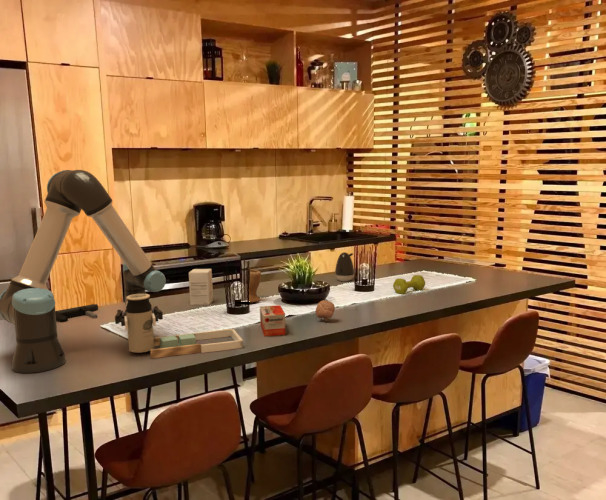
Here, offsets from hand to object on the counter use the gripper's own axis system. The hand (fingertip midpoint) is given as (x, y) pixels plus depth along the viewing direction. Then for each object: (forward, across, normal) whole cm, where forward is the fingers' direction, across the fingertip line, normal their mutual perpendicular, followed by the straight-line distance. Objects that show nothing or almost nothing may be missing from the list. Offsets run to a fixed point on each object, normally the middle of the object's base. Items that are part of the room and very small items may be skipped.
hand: (140, 323), depth 180 cm
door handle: (-66, +22, -12) cm, 70 cm away
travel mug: (-5, 0, -10) cm, 11 cm away
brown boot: (-64, -50, -11) cm, 82 cm away
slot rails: (-4, -10, -11) cm, 16 cm away
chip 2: (-4, -15, -11) cm, 19 cm away
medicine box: (-13, -47, -12) cm, 50 cm away
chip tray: (-4, -25, -11) cm, 28 cm away
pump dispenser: (-89, -109, -12) cm, 142 cm away
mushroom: (-17, -70, -11) cm, 73 cm away
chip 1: (-4, -9, -11) cm, 15 cm away
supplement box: (-69, -30, -11) cm, 77 cm away
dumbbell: (-51, -126, -12) cm, 137 cm away
